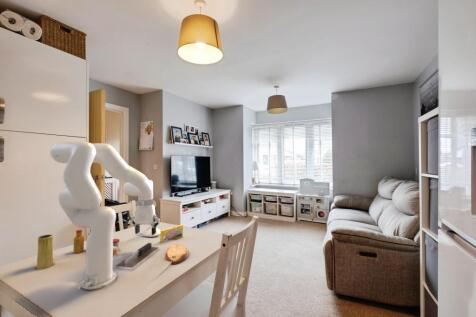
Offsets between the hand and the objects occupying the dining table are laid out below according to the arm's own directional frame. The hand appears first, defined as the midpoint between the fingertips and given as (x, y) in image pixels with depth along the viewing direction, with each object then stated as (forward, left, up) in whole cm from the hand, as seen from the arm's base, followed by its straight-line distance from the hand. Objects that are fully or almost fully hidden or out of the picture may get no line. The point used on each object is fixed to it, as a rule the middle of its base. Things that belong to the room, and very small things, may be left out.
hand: (145, 233), depth 120 cm
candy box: (+21, -5, -11) cm, 25 cm away
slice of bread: (+1, -17, -11) cm, 20 cm away
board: (-6, 0, -11) cm, 12 cm away
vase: (-22, +39, -11) cm, 46 cm away
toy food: (-3, +26, -11) cm, 28 cm away
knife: (-7, 0, -10) cm, 12 cm away
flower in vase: (+27, +13, -11) cm, 32 cm away
